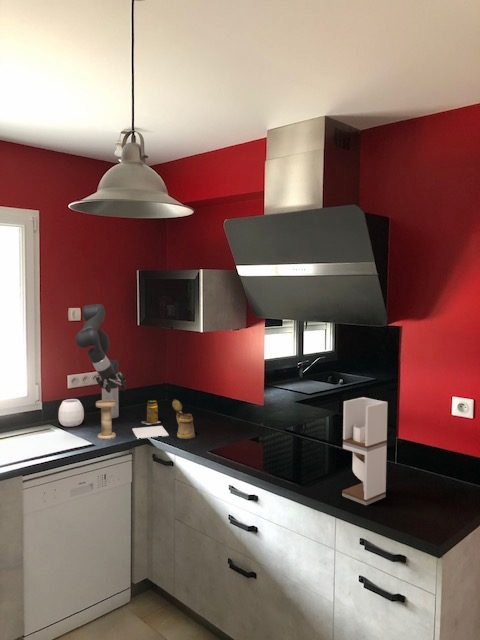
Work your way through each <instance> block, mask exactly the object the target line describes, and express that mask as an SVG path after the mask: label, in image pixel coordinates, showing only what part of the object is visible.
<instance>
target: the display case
mask: <svg viewBox="0 0 480 640" xmlns="http://www.w3.org/2000/svg"><path fill="white" fill-rule="evenodd" d="M342 414H343V420H342V422H343V423H342V425H343V426H342V429H343V430H342V449H344V450H347V451H351V452H352V472H353V474H354V475H355V476H356V477H357V479H359V480H360V481H361V482H360V483H359V484H356V485H352V486H350V487H348V488H345V489H343V490H342V491H341V492H342V493H341V495H342V497H344V498H346V499H349V500H352V501H354V502H357V503H359V504H361V505H364V506H368V505H370V504H373V503H376V502H377V501H379V500H382V499H384V498H386V495H387V494H386V492H387V491H386V490H387V488H386V487H387V485H386V484H387V450H388V449H387V446H388V442H387V441H388V401H383V400H380V399H379V400H377V399H373V398H369V397H365V396H362V397H357V398H353V399H349V400H344V401H343V413H342Z"/></svg>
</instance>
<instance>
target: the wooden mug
mask: <svg viewBox="0 0 480 640" xmlns="http://www.w3.org/2000/svg"><path fill="white" fill-rule="evenodd" d="M171 406H172V408H173V410H174V411H176V415H175V416H176V421H177V424H178V427H177V428H178V429H177V433H176V434H177V435H176V437H177V438H178V439H183V440H188V439H194V438H195V437H196V433H195V428H194V417H193V415H192V414H191V413H183V411H182V410H183V405H182V403H181V402H180V401H179V400H178V399H176V398H174V399H173V400H172V402H171Z"/></svg>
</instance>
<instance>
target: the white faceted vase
mask: <svg viewBox="0 0 480 640" xmlns="http://www.w3.org/2000/svg"><path fill="white" fill-rule="evenodd" d="M84 416H85V411H84V406H83V404H82V403H81V401H80V400H79V399H77V398H70V399H69V398H68V399H65V400H62V402H61V404H60V406H59V408H58V422H59V423H60V424H61V425H62V426H64V427H77V426H79V425H81V424H82V422H83V420H84V419H85V417H84Z"/></svg>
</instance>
